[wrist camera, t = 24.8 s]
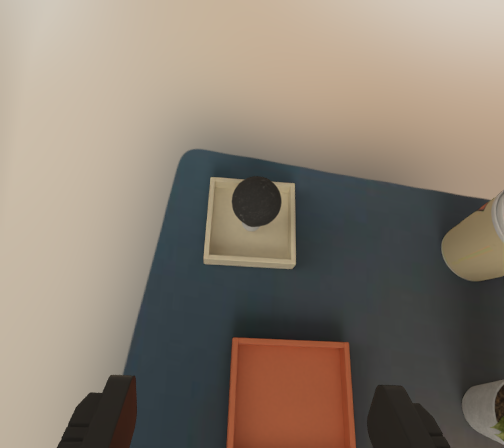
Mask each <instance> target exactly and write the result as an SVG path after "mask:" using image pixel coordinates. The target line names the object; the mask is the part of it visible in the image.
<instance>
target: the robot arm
mask: <svg viewBox="0 0 504 448" xmlns="http://www.w3.org/2000/svg"><path fill="white" fill-rule="evenodd" d="M136 416H137V398H136V378H135V376H128V375H111V376H110V377H109V379H108V381H107V383H106V386H105V388H104V390H103V393H89V394H88V395H87V397H85V398H84V399H83V400H82V402H81V403H80V404H79V405H78V406H77V407H76V409H75V411H74V413H73V415H72V417H71V419H70V421H69V424H68V427H67V428H66V430H65V432H64V434H63V436H62V440H61V441H60V443H59V444H58V447H57V448H129V447H130V443H131V440H132V436H133V432H134V428H135V423H136ZM367 428H368V434H369V437H370V440H371V443H372V445H373V448H450V445H449V444H448V442H447V440H446V439H445V437H443V435H442V434H443V433H442V432H441V430H440V428H439V426H438V425H437V423H436V421H435V420H434V418H433V417H432V416H431V415H430V414H429V413H428V412H427V411H426V410H425V409H424V408H423V407H422V406H421V405H420V404H419V403H412V401H411V399H410V397H409V396H408V394H407V392H406V390H405V389H404V388H403V387H402V386H396V385H378V386H377V388H376V391H375V394H374V397H373V401H372V404H371V407H370V411H369V414H368V418H367Z"/></svg>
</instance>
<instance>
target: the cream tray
mask: <svg viewBox="0 0 504 448" xmlns="http://www.w3.org/2000/svg"><path fill="white" fill-rule="evenodd" d="M242 181H243V179H230V178H218V177H211V180H210V191H209V202H208V214H207V225H206V236H205V248H204V264H214V265H231V266H248V267H264V268H281V269H293V267H294V266H295V265H296V236H295V183H282V182H273V183H274V184H275V185H276V186H277V188H278V190H279V191H280V194H281V200H282V204H281V208H280V211H279V213H278V215H277V217H276V218H275V219H274V220H273V221H272V222H270V223H269V224H267V225H264V226H260V227H259V228H258V229H257V230H256V231H253V232H252V231H247V230H246V229H245V228H244V227H243V225H242V222H241V221H240V220H239V219H238V218H237V216H236V215H235V213H234V211H233V208H232V195H233V192H234V190H235V188H236V187H237V186H238V184H239V183H240V182H242Z"/></svg>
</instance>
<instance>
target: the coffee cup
mask: <svg viewBox="0 0 504 448" xmlns="http://www.w3.org/2000/svg"><path fill="white" fill-rule="evenodd" d="M441 251H442V256H443V259H444V261H445V263H446V264H447V266H448V267H449V268H450V269H451V271H453V272H454V273H455V274H456V275H457V276H459V277H461V278H463V279H466V280H469V281H483V280H488V279H492V278H497V277H501V276H504V190H503V191H501V192H500V193H499V194H498V195H497V196H496V197H495V198H493V199H492V200H491V201H489V202H488V203H486V204H485V205H484V206H482V207H481V208H479V209H478V210H477V211H475V212H474V213H473V214H471V215H470V216H469V217H467V218H466V219H465V220H463V221H462V222H460V223H459V224H458V225H456V226H455V227H454V228H452V229H451V230H450V231H449V232H448V233H447V234H446V235H445V236H444V238H443V240H442V245H441Z"/></svg>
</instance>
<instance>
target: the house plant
mask: <svg viewBox="0 0 504 448" xmlns="http://www.w3.org/2000/svg"><path fill="white" fill-rule="evenodd" d="M462 409H463V413H464V416H465V418H466V420H467V422H468V423H469V425H470V426H471V427H472V428H473V429H474V430H476V431H477V432H479V433H481V434H483V435H485V436H487V437H489V438H491V439H493V440H495V441H497V442H499V443H501V444H503V445H504V380H500V381H495V382H490V383H485V384H480V385H476V386H472V387H471V388H470V389H468V391H467V392H466V393H465V395H464V397H463V399H462Z"/></svg>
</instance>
